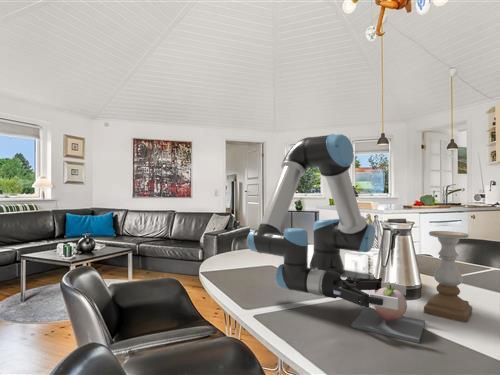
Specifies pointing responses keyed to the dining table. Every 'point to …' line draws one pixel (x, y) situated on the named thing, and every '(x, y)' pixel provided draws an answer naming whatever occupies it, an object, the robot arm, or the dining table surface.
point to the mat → (390, 325)
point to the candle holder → (448, 281)
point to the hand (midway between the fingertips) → (402, 296)
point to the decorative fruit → (387, 312)
